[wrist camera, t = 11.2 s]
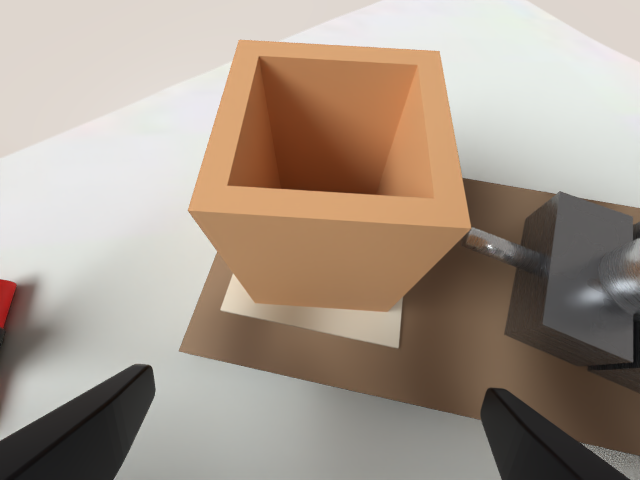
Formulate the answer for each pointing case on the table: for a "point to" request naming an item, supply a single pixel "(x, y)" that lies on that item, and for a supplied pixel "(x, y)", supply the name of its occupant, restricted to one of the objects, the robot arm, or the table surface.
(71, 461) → the robot arm
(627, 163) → the table surface
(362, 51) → the tan cardboard box
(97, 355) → the table surface
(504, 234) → the board
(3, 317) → the tow hook
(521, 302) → the vise
